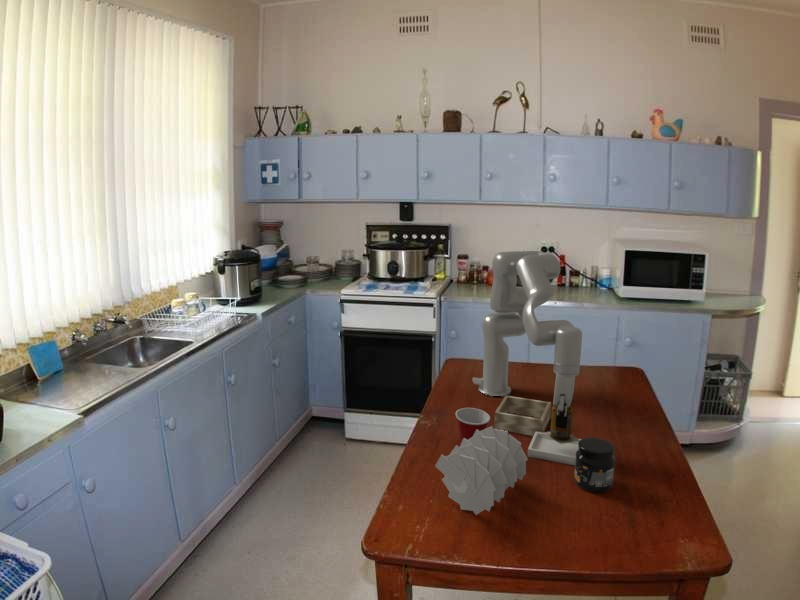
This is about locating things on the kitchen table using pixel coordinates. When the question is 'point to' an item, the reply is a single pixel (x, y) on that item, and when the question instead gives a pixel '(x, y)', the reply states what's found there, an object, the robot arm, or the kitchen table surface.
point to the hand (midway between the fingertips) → (562, 422)
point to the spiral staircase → (482, 469)
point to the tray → (552, 449)
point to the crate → (522, 422)
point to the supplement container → (594, 465)
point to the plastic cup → (471, 421)
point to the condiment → (561, 433)
